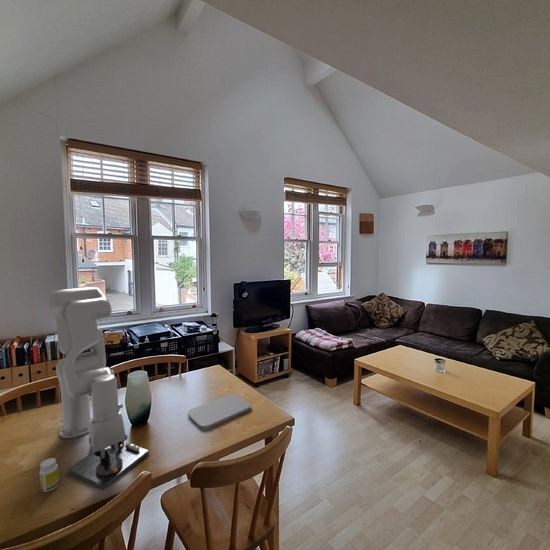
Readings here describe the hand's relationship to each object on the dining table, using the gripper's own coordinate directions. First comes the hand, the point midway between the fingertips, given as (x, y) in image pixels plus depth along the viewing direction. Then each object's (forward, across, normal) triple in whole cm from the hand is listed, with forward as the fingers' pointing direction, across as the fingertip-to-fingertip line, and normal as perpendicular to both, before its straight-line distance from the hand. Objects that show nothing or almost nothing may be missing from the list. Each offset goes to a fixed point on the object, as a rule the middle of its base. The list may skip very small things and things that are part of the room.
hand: (109, 463), depth 103 cm
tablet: (+4, -48, -3) cm, 48 cm away
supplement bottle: (+3, +15, -7) cm, 17 cm away
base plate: (+3, -2, -5) cm, 6 cm away
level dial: (+2, 0, 0) cm, 2 cm away
